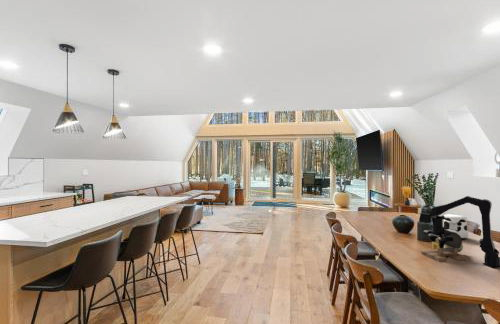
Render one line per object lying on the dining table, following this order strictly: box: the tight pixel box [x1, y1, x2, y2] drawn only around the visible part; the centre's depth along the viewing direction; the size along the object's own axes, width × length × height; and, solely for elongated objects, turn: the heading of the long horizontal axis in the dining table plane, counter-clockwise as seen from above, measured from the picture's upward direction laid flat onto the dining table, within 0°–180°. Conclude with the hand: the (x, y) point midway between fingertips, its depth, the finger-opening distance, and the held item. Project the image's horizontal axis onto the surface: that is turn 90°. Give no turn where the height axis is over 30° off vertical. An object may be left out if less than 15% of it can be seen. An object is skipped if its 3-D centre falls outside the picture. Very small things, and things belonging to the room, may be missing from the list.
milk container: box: [443, 213, 469, 240], centre depth 220 cm, size 17×17×18 cm
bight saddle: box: [431, 240, 445, 251], centre depth 177 cm, size 5×4×5 cm
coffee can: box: [444, 232, 464, 253], centre depth 178 cm, size 10×10×14 cm
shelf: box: [420, 247, 467, 262], centre depth 173 cm, size 14×20×7 cm
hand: (437, 247), depth 177 cm, fingers closed on bight saddle, 5 cm apart
